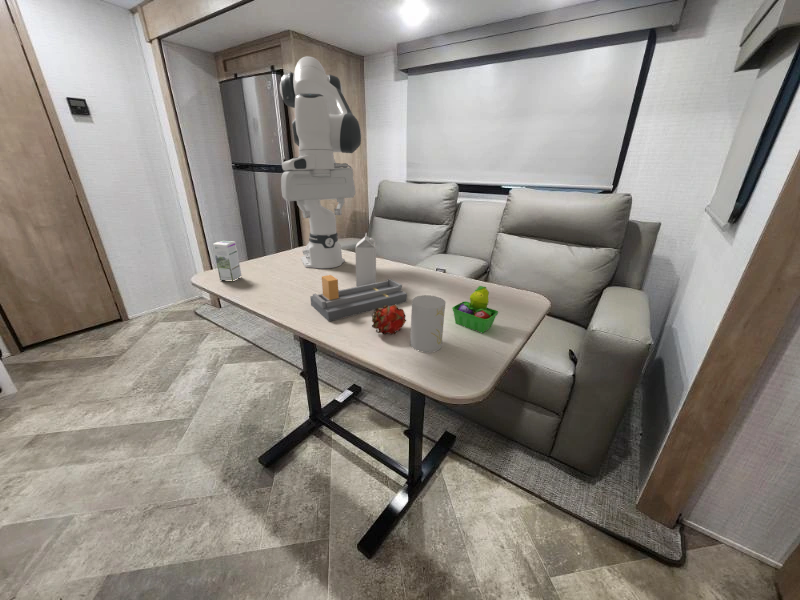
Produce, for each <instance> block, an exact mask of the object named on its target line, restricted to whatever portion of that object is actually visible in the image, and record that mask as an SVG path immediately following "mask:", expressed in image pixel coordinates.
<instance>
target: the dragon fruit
mask: <svg viewBox="0 0 800 600" xmlns="http://www.w3.org/2000/svg"><path fill="white" fill-rule="evenodd" d="M371 322H372V324H371V328H373V329H375V332H376V333H378V334H382V335H386V334H387V333H388V334H390V335H394V336H396V335H397V332H400V331H401V329H402V328H403V326H404V325H405V323H406V322H407V319H406V313H405V311H404V309H403V308H399V307H398V306H397V304H396V305H392V306H388V305H386V306H383V308H376V310H374V312H373V314H372V316H371Z"/></svg>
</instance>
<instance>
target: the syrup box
mask: <svg viewBox="0 0 800 600" xmlns="http://www.w3.org/2000/svg"><path fill="white" fill-rule="evenodd" d="M212 248H213V251H214V252H213V253H214V257H215V263H216V267H217V271H218V276H219V281H220V280H232V281H233V280H235V279H237V278H239V277H240V276H242V277H243V274H242V271H241V265H240V261H239V254H238V253H239V252H238V249H237V243H236V241H235V240H233V241H231V240H230V241H229V240H220V241H216V242H214V243H212Z"/></svg>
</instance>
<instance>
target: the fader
mask: <svg viewBox="0 0 800 600" xmlns="http://www.w3.org/2000/svg"><path fill="white" fill-rule="evenodd" d="M321 288H322V294H323V295H321V297H322V299H323V300H324V301H325V302H327V301H332V300H337V299H340V297H339V294H338V290H339V279H337V278H336V277H335V276H333V275H332V274H328V275H327V274H326V275H322V276H321Z"/></svg>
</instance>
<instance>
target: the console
mask: <svg viewBox="0 0 800 600" xmlns="http://www.w3.org/2000/svg"><path fill="white" fill-rule="evenodd" d="M338 294H339V297H340V299H337V300H332V301H327V302H325V301H324V300H323V299H322V297H321V295H323V293H318V294H317V293H313V294H312V295H311V296H310V306H311V307H312V308H313V309H315V311H316V312H318V313H319V314H320V315H321V316H322V317H323V318H324V319H325V320H326V321H328V322H333V321H336V320H340V319H344V318H349V317H352V316H356V315H360V314H364V313H365V314H366V313H368V312H371V311H372V312H373V311H375V310H376V308H383V306H386V305H388V307H390V306H393V305H396V306H397V305H400V304H403V303H407V300H408V299H407V298H408V294H407V292H405V291H403V284H401V283H399V282H397V281H395V280H394V279H391V278H387V280H384V281H383V280H382V281H380V282H376V283H373V284H368V285H363V286H358V287H356V286H353V287H350V288H344V289H338Z"/></svg>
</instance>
